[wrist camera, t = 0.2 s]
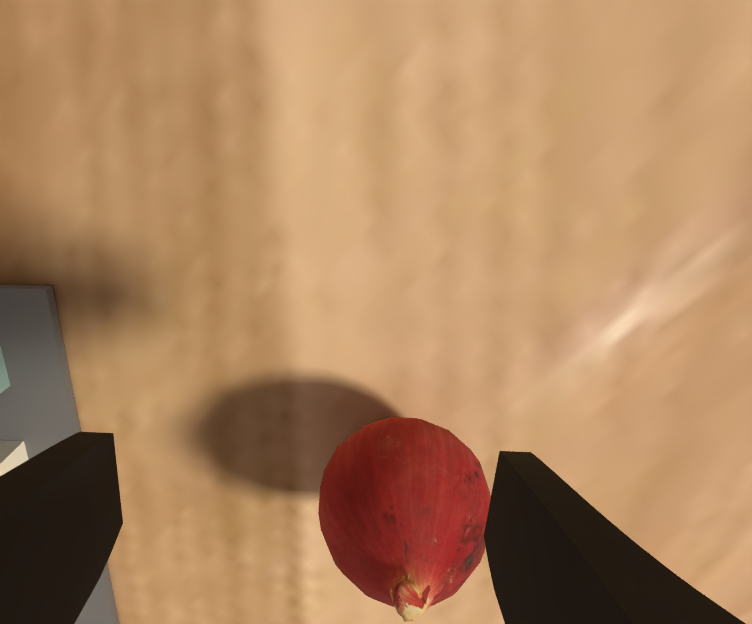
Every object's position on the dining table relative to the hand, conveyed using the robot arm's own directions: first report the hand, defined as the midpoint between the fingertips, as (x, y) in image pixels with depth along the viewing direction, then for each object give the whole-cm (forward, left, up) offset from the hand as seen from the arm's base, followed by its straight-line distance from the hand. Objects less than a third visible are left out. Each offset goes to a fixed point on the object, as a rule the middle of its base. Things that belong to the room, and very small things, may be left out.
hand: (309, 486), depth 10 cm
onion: (-6, -3, -10) cm, 12 cm away
